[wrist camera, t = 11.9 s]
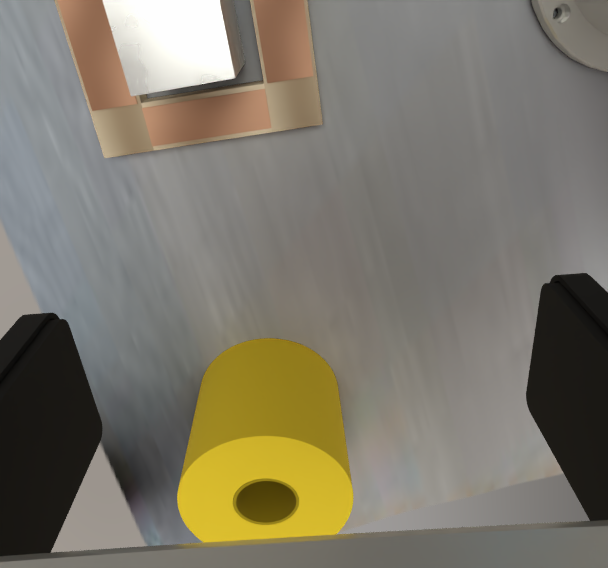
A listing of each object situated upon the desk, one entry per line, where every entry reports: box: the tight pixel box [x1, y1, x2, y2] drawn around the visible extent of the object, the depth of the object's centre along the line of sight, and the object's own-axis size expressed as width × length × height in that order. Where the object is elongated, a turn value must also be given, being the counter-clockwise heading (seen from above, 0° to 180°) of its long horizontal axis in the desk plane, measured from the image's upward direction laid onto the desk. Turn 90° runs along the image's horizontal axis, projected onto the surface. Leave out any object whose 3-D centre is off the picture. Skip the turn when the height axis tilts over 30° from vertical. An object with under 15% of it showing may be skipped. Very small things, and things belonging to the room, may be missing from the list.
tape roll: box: [177, 338, 353, 543], centre depth 35 cm, size 10×10×9 cm
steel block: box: [103, 0, 245, 96], centre depth 25 cm, size 4×4×7 cm
